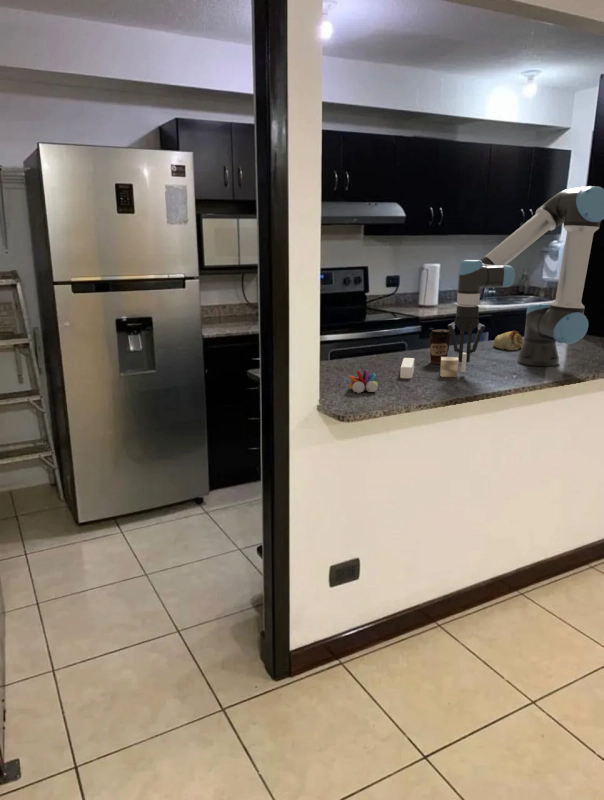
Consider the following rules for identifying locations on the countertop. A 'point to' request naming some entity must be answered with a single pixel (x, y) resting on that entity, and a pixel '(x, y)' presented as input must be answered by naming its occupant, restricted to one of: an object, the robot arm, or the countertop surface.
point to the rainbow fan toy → (363, 382)
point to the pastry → (509, 341)
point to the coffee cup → (439, 345)
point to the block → (449, 367)
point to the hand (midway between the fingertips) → (463, 370)
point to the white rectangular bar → (407, 368)
